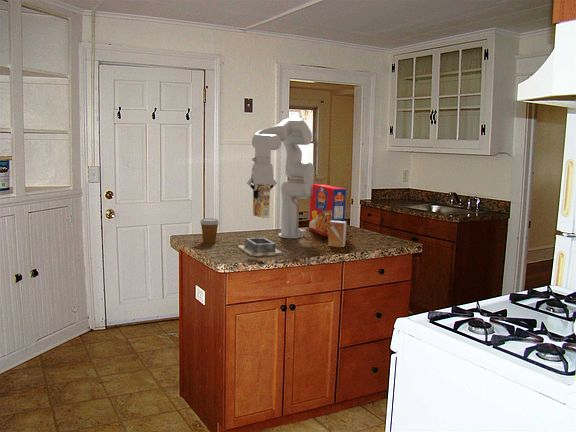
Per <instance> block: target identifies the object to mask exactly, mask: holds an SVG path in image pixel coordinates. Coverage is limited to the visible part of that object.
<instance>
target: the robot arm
mask: <svg viewBox="0 0 576 432" xmlns="http://www.w3.org/2000/svg"><path fill="white" fill-rule="evenodd" d="M312 141H313V134H312V130H311V129H310V127H309V126H308V124H307V123H306V122H305V120H303V119H300V118H298V119H297V118H285V119H282V120H281V121H280V122H278V123H277V124H276V125H273V126H270V127H267V128H263V129H261V130H260V129H259V131H257V132H256V133H254V134H253V137H252V138H251V145H252V147H253V148H254V157H252V158H251V161H252V162H254V163H253V165H252V168H251V175H250V178H249V180H247V182H246V184H247V185H248V186H249V188H251V189H252V190H253V191H252V198H253V197H254V198H255V199H257V196H258V191H257V187H258V185H267V186H270V191H271V190H272V189H273V188H274V187H275V186H277V184H278V183H277V181H276V180H275V179H274V169H273V167H274V166H273V164H272V163H271V159H272V156H271V155H272V154H271V152H272V151H277V150H279V149H280V148H281V146H282V143H283V146H284V148H285V150H286V160H285V176H286V177H288V178H289V180H285V181H283V182H282V183H281V187H280V190H281V191H280V192H281V200H282V201H281V203H282V204H281V205H282V207H281V227H280V228H281V229H280V232H279V233H278V234H277V235H278V237H280V238H283V239H299V238H301V237H302V235H301V234H307V230H306V229H300V228H299V218H300V204H299V202H298V200H297V199H301V200H302V199H303V200H304V199H305V200H306V199H307V200H309V199H310V198H311V196H312V191H313V184H314V177H315V168H314V165H313V163H312V162H310V161H303V159H302V157H303V153H302V152H303V151H302V149H301V147H300V146H309V145H310V144H311V143H312ZM299 145H300V146H299ZM290 179H302V180H303V181H302V180H290Z"/></svg>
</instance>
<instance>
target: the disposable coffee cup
mask: <svg viewBox="0 0 576 432" xmlns="http://www.w3.org/2000/svg"><path fill="white" fill-rule="evenodd" d="M219 223H220V222H219V219H218V218H211V217H210V218H207V217H206V218H201V220H200V225H201V233H202V243H203V244H208V245H209V244H210V245H211V244H212V245H213V244H216V241H217V233H218V227H219Z"/></svg>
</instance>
